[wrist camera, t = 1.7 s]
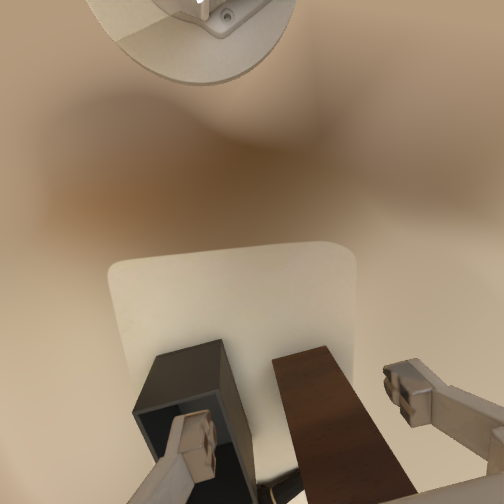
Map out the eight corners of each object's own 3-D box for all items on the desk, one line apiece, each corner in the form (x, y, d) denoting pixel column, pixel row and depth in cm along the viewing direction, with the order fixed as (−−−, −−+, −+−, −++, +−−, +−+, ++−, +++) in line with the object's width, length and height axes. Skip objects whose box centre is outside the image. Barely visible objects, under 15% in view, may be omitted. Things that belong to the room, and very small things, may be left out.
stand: (271, 359, 42) (340, 629, 16) (325, 345, 43) (477, 587, 17) (282, 403, 45) (356, 694, 19) (333, 389, 45) (474, 657, 19)
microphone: (325, 433, 52) (245, 487, 50) (336, 454, 46) (246, 515, 45) (338, 456, 52) (258, 511, 50) (350, 479, 46) (260, 542, 44)
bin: (156, 355, 40) (131, 412, 30) (221, 338, 40) (219, 389, 30) (195, 451, 46) (185, 525, 36) (251, 435, 46) (258, 504, 36)
